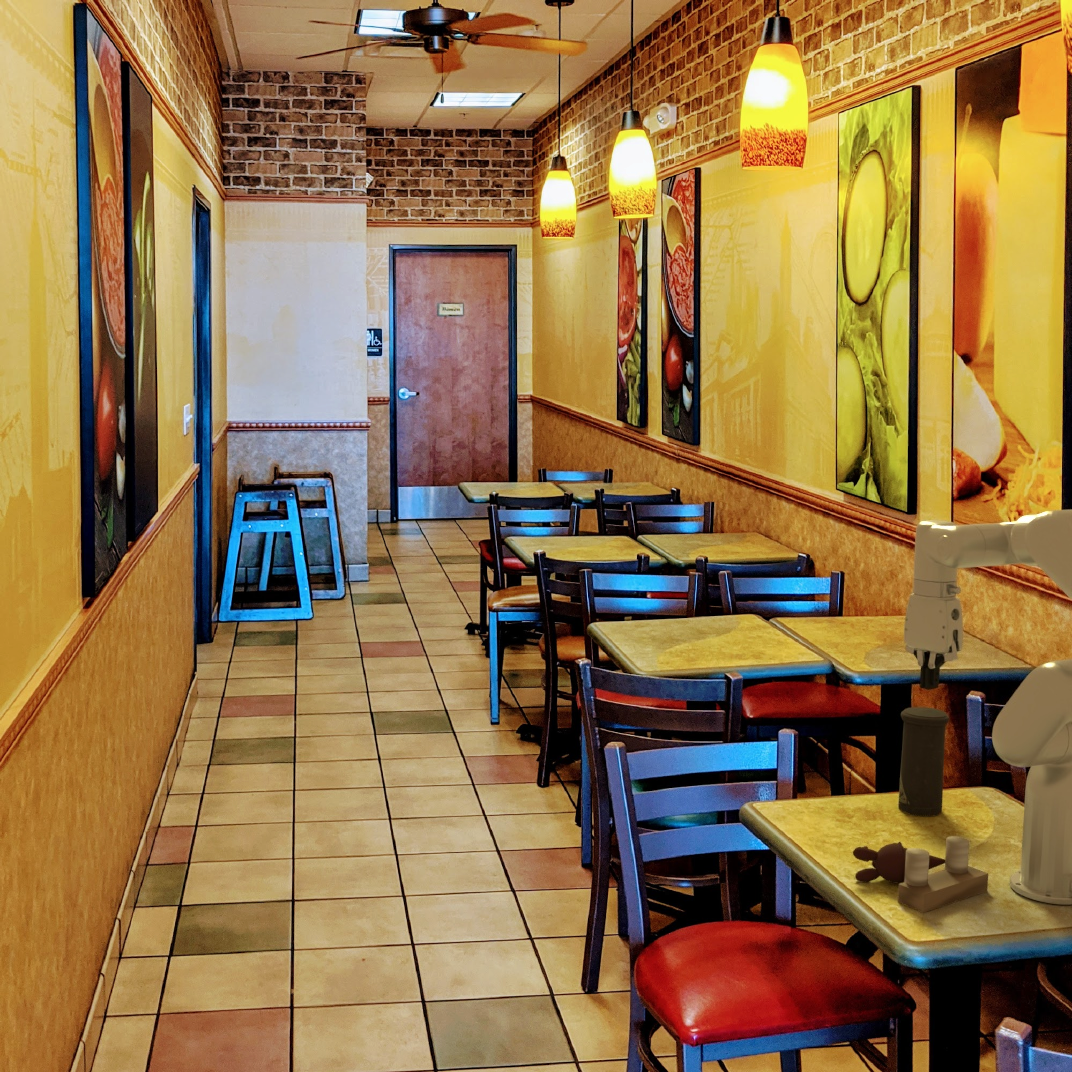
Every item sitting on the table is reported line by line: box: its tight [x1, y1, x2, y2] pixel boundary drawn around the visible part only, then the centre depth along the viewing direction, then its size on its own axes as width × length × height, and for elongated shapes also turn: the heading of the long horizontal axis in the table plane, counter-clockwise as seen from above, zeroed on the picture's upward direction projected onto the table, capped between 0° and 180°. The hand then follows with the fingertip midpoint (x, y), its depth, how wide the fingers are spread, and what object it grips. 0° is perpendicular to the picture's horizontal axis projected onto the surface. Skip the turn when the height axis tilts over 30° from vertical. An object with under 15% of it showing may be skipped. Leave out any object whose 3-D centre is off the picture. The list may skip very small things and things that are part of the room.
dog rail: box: [897, 835, 989, 914], centre depth 211 cm, size 6×16×8 cm, turn 124°
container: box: [897, 706, 950, 817], centre depth 252 cm, size 9×9×20 cm
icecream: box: [852, 841, 945, 884], centre depth 216 cm, size 7×7×15 cm
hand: (929, 687), depth 238 cm, fingers closed
